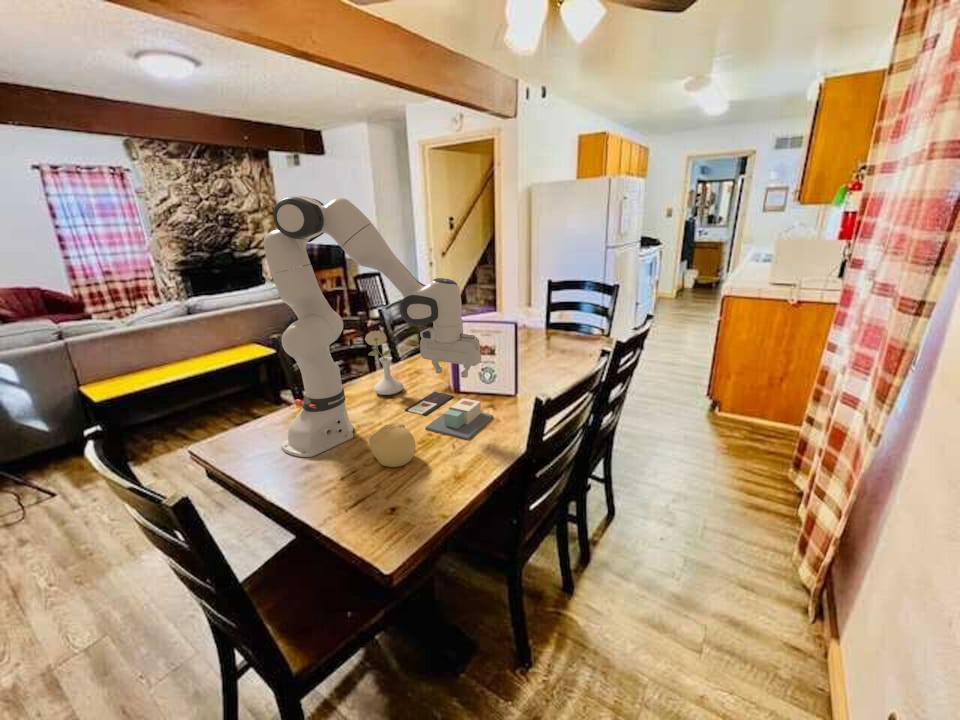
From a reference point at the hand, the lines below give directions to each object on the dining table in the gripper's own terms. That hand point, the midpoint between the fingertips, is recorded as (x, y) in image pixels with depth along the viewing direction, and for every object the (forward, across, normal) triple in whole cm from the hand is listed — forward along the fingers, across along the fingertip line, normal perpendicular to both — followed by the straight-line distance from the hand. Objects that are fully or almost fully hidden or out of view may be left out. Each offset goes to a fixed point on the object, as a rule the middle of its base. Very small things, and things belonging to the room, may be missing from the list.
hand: (451, 375), depth 137 cm
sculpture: (+18, +5, +25) cm, 31 cm away
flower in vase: (+18, +40, -14) cm, 46 cm away
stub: (+17, 0, +1) cm, 17 cm away
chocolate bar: (+19, +18, -12) cm, 28 cm away
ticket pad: (+18, 0, -3) cm, 18 cm away
